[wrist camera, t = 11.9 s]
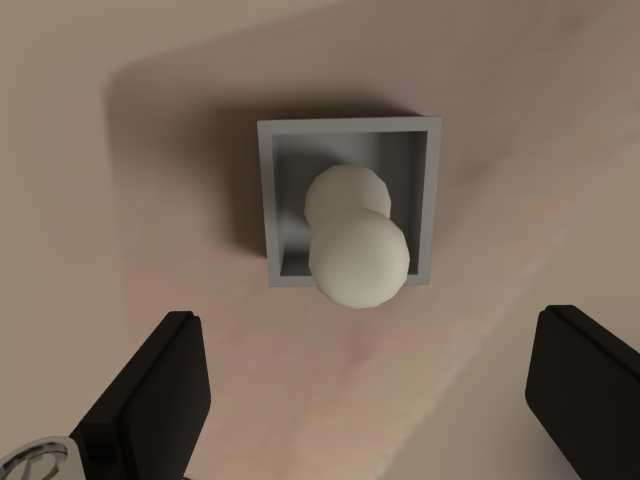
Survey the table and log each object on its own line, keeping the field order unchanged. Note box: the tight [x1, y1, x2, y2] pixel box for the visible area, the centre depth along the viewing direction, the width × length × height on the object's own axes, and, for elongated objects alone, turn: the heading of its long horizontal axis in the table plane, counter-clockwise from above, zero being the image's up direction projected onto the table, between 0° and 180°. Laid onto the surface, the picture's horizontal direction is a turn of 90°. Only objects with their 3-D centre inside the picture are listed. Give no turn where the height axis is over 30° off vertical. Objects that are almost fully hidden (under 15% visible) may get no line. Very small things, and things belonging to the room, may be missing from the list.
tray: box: [257, 116, 442, 287], centre depth 26 cm, size 11×11×4 cm
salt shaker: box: [304, 163, 410, 309], centre depth 21 cm, size 6×6×13 cm
